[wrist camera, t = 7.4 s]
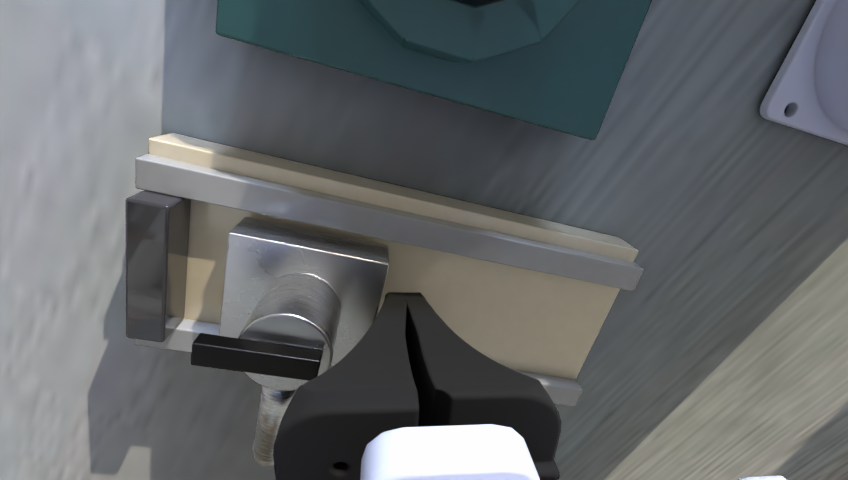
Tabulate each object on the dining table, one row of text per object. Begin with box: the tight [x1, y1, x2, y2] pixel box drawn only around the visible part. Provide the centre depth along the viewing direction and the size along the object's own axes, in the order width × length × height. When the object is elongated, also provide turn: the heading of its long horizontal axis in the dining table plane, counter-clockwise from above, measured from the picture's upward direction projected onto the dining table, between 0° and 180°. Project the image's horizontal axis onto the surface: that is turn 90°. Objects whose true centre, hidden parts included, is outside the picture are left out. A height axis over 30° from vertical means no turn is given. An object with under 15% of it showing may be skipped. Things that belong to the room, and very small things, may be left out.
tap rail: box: [126, 133, 644, 407], centre depth 15 cm, size 18×8×3 cm, turn 75°
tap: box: [191, 217, 389, 467], centre depth 13 cm, size 5×7×4 cm
